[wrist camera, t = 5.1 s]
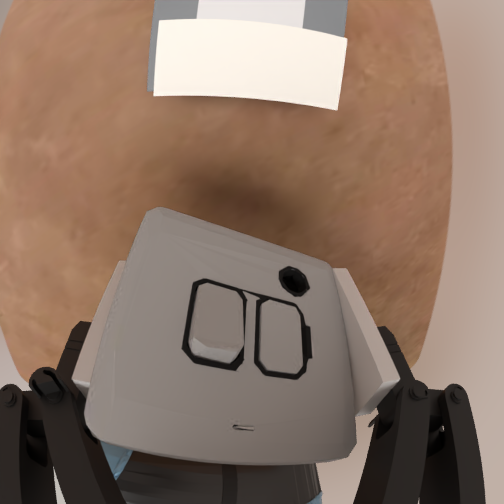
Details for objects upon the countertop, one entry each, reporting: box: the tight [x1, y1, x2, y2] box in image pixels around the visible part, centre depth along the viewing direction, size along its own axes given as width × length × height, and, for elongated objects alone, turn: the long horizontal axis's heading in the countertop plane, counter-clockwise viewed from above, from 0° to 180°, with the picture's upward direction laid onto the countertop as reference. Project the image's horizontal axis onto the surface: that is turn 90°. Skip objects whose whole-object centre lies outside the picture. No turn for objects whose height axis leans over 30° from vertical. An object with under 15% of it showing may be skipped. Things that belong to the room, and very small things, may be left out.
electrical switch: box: [84, 207, 357, 465], centre depth 11 cm, size 9×5×9 cm, turn 66°
